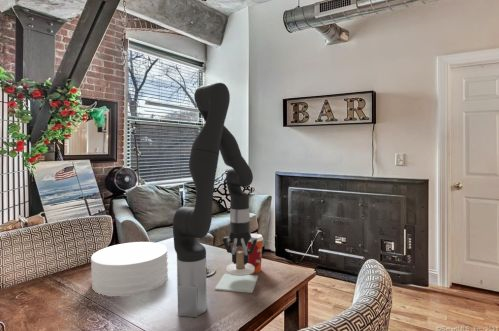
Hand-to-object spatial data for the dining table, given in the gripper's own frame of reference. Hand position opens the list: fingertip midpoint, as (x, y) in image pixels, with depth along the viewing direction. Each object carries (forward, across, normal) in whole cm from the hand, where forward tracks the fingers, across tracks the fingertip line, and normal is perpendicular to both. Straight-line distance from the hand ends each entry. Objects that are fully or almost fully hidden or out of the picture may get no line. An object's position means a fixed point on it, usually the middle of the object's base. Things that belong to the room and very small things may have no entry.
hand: (240, 263), depth 124 cm
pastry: (+8, -18, +7) cm, 21 cm away
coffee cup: (+8, +3, +13) cm, 15 cm away
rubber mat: (+7, -1, -1) cm, 8 cm away
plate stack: (+8, -43, -5) cm, 44 cm away
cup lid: (+3, 0, 0) cm, 3 cm away
